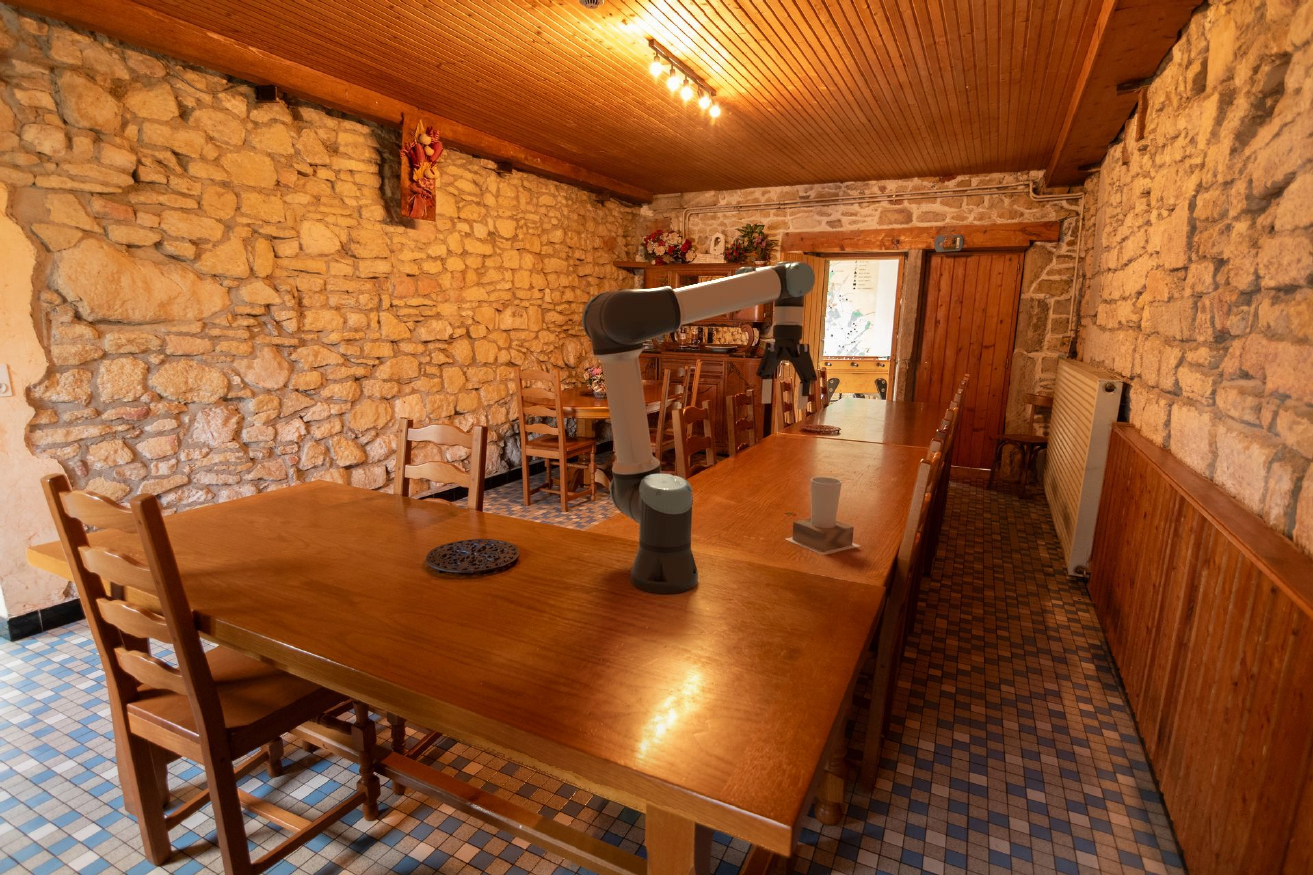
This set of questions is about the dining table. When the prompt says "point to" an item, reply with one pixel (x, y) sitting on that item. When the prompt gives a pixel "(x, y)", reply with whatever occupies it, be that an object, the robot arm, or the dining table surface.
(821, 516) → the cup
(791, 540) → the mat
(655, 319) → the robot arm
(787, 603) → the dining table surface
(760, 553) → the dining table surface
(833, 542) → the base block
